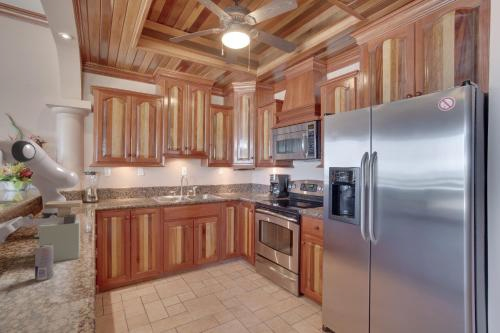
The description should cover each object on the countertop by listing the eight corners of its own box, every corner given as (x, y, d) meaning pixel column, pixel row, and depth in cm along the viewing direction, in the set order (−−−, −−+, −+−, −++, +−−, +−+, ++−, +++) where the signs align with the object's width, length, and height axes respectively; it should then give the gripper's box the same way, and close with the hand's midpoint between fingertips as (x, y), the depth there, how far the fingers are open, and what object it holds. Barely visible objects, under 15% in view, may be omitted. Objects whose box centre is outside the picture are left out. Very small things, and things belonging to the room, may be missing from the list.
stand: (47, 250, 126) (48, 201, 126) (81, 246, 133) (82, 200, 133) (43, 256, 118) (44, 204, 118) (80, 251, 125) (80, 202, 125)
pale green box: (42, 258, 116) (43, 222, 116) (79, 253, 123) (80, 219, 123) (39, 264, 109) (39, 226, 109) (78, 258, 116) (78, 223, 116)
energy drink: (43, 274, 98) (43, 243, 98) (56, 275, 98) (57, 244, 98) (30, 281, 93) (31, 248, 93) (45, 281, 93) (45, 248, 93)
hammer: (14, 225, 111) (14, 218, 111) (76, 220, 122) (76, 214, 122) (9, 228, 105) (9, 221, 105) (74, 223, 116) (74, 216, 116)
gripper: (-24, 236, 95) (19, 215, 101) (-4, 225, 113) (31, 207, 119) (-13, 249, 96) (29, 228, 102) (5, 236, 114) (40, 218, 120)
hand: (30, 216), depth 111 cm, fingers open, 5 cm apart
